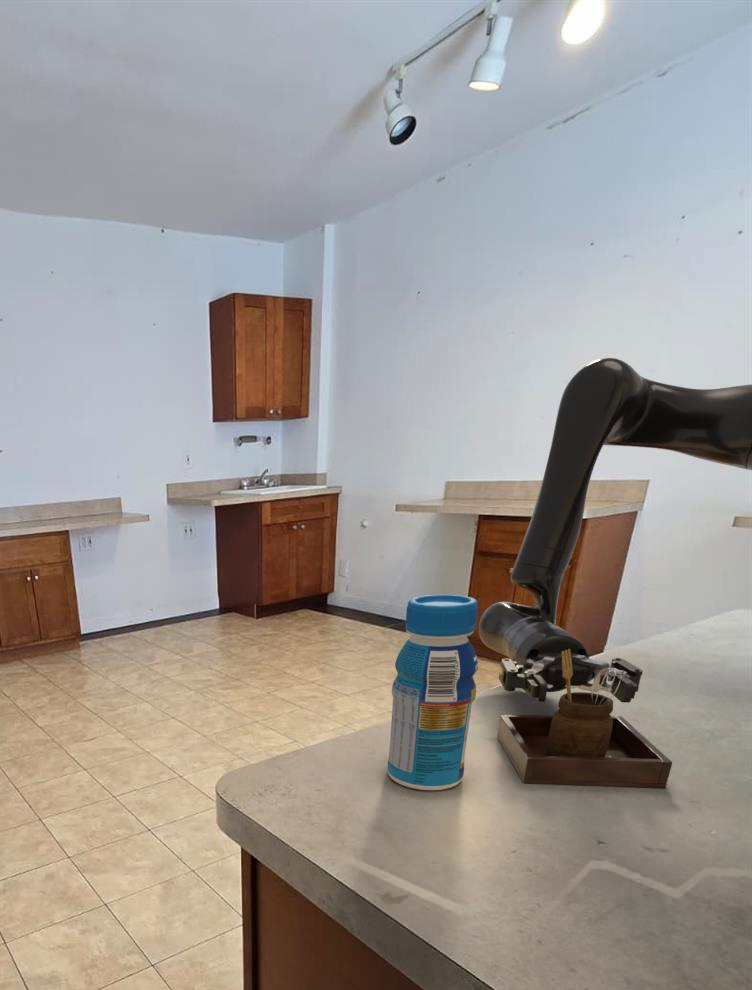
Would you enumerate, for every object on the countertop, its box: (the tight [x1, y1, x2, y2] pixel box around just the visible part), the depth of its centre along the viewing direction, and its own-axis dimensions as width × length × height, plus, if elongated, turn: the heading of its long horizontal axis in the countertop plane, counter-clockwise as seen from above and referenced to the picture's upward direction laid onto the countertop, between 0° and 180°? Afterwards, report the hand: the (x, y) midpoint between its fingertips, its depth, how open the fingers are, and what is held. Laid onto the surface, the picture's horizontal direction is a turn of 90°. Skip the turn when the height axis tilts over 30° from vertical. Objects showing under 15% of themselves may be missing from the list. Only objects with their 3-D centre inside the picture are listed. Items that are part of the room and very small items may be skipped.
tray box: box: [496, 714, 673, 789], centre depth 74 cm, size 14×14×3 cm
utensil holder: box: [547, 649, 622, 758], centre depth 72 cm, size 6×6×12 cm
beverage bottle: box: [386, 594, 479, 791], centre depth 69 cm, size 8×8×20 cm
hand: (585, 693), depth 71 cm, fingers open, 8 cm apart
